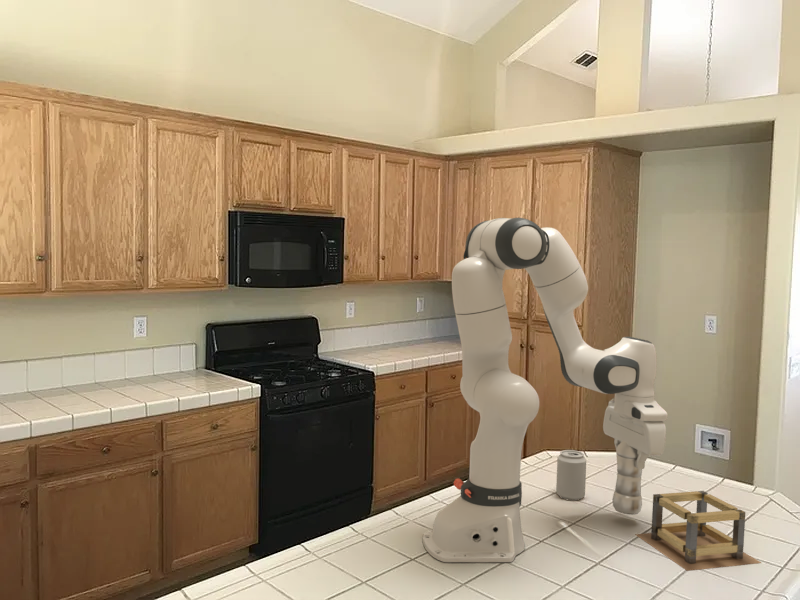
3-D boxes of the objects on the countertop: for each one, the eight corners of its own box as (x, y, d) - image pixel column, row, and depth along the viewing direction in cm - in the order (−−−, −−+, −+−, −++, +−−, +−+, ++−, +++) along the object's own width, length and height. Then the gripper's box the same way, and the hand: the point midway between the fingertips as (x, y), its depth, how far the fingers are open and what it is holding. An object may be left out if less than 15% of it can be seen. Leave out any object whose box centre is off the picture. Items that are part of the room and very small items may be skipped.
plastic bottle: (643, 519, 155) (650, 434, 154) (613, 515, 156) (620, 431, 155) (638, 510, 161) (645, 428, 160) (609, 506, 162) (616, 425, 162)
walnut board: (686, 576, 134) (687, 570, 134) (634, 539, 152) (634, 534, 152) (761, 568, 139) (761, 562, 139) (702, 533, 156) (702, 528, 156)
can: (588, 495, 180) (590, 451, 179) (579, 503, 174) (581, 458, 173) (561, 489, 184) (563, 446, 183) (552, 497, 178) (553, 453, 177)
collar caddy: (689, 564, 137) (692, 516, 137) (651, 537, 150) (653, 494, 149) (742, 558, 141) (745, 512, 140) (700, 533, 153) (703, 490, 152)
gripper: (598, 396, 167) (595, 451, 167) (647, 415, 147) (643, 477, 148) (620, 396, 168) (617, 450, 169) (672, 415, 148) (668, 476, 149)
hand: (630, 463), depth 158 cm, fingers closed on plastic bottle, 6 cm apart
